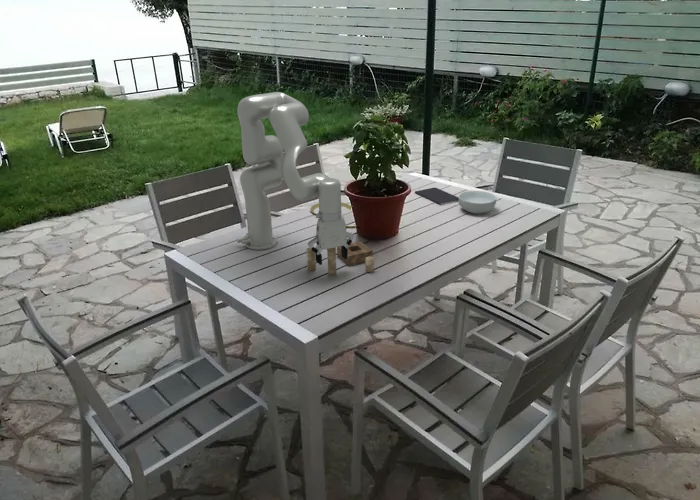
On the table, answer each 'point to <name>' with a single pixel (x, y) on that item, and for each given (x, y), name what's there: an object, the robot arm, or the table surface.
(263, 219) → the robot arm
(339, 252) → the hole block
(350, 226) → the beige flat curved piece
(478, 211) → the cereal bowl
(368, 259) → the short pin
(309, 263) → the medium pin
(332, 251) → the long pin
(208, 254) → the table surface
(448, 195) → the notebook
